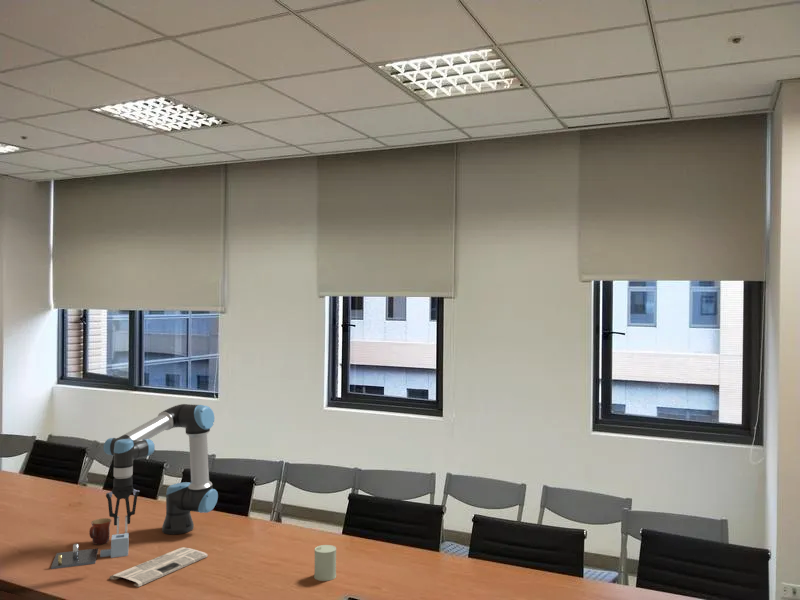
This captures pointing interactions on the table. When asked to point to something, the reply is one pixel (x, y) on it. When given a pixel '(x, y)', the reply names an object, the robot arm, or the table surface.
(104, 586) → the table surface
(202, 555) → the newspaper
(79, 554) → the post plate
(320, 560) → the can
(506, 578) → the table surface
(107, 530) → the mug
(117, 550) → the hollow square cube
